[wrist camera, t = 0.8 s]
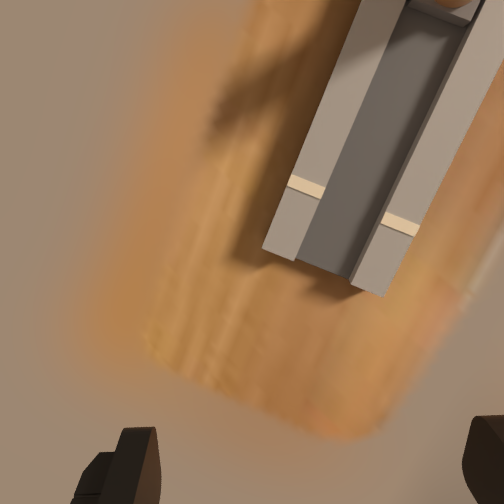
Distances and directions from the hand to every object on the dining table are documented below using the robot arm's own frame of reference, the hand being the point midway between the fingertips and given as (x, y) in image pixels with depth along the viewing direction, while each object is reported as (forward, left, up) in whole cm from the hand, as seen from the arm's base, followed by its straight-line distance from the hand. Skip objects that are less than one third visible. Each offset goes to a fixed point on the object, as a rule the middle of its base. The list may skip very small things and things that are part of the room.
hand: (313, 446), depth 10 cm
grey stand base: (-9, +8, -21) cm, 24 cm away
